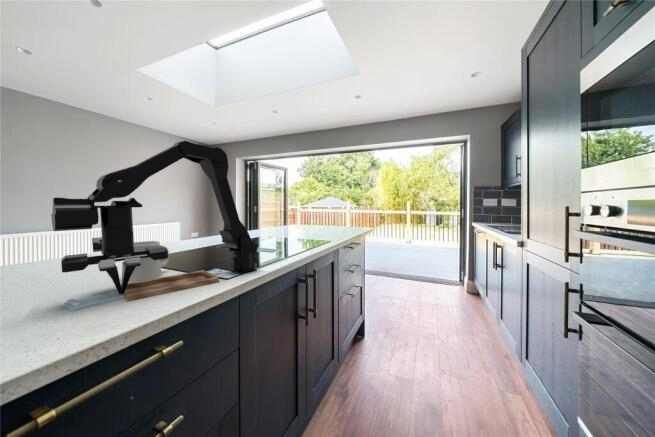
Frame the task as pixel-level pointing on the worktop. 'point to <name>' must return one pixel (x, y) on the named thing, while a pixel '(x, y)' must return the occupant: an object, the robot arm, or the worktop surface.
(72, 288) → the worktop surface
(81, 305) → the blue mattress with pillow
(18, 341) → the worktop surface
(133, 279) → the mug
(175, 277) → the brown flat wooden tray
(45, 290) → the worktop surface
